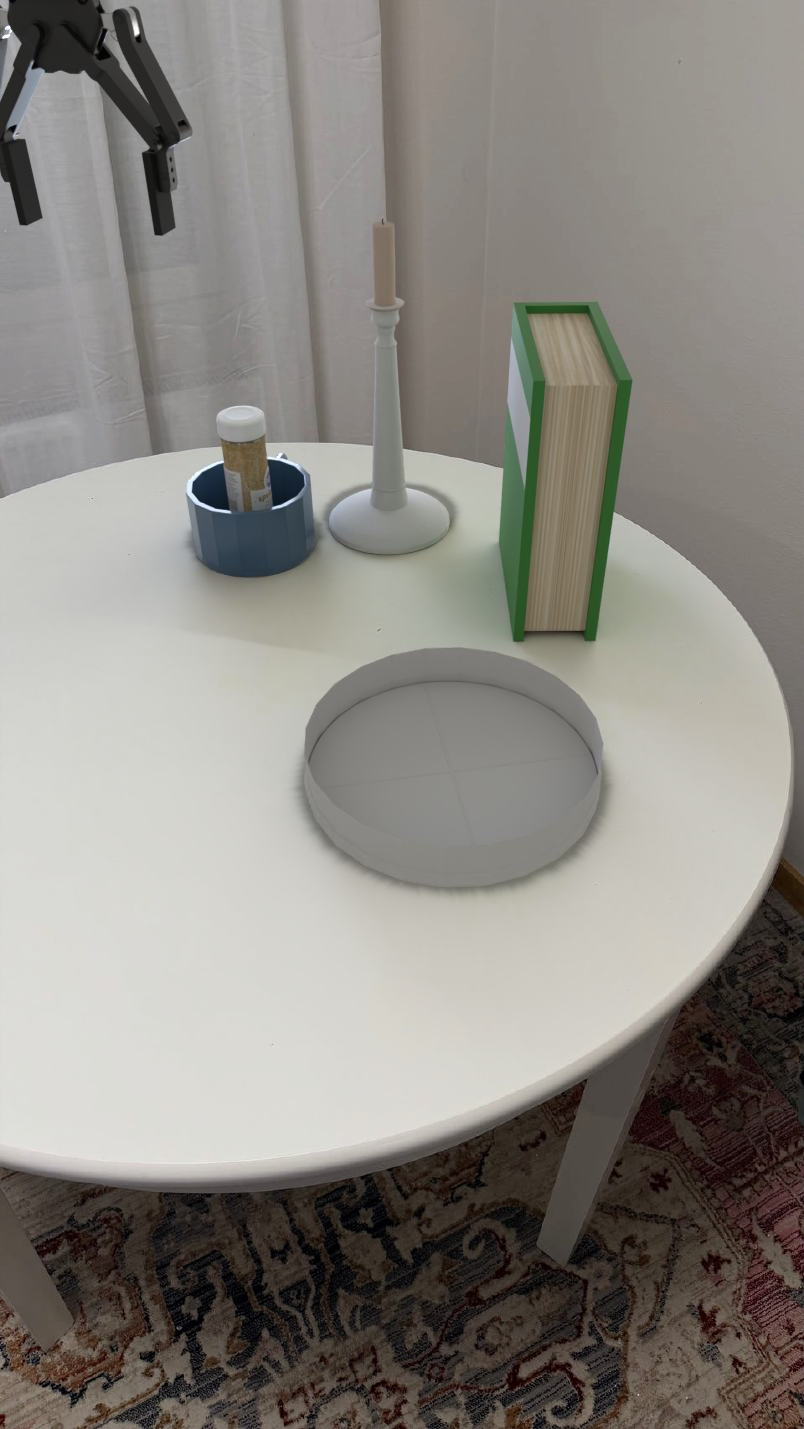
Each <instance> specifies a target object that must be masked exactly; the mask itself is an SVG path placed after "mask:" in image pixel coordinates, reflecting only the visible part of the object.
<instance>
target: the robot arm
mask: <svg viewBox="0 0 804 1429" xmlns="http://www.w3.org/2000/svg"><path fill="white" fill-rule="evenodd" d="M109 32H110V36H111V38H112V39H113V40H114V41H115V42H117V43H118V46H119V48H120V51H121V53H122V55H123V57H124V59H125V61H126V63H127V65H128V67H129V69H130V70H131V73H132V74H133V76H134V78H135V80H136V82H137V83H138V85H139V87H140V90H141V91H142V93H143V95H144V96H143V95H142V93H141V92H140V90H139V89H138V88H137V87H136V85H135V84H134V83H133V81H131V79H130V78H129V76H128V75H127V74H126V73H125V71H124V70H123V69H122V68H121V65H120V64H121V63H120V61H119V60H118V58H117V57H116V55H115V54H114V53H113V52H112V50H111V49H110V48H109V46H108V45H107V44H106V43H105V41H106V38H107V35H108V33H109ZM11 33H13V34H14V36H15V37H16V38H17V40H18V41H19V42H20V46H19V48H18V50H17V53H16V56H15V58H14V61H13V63H12V67H13V70H12V73H11V75H10V77H9V80H8V81H7V84H6V87H5V89H4V91H3V94H2V96H1V97H0V176H1V178H2V180H3V182H4V183H9V186H10V190H11V196H12V198H13V203H14V208H15V212H16V215H17V220H18V224H19V226H26V227H27V226H29V225H31V224H33V223H35V222H38V221H39V220H42V219H43V218H44V216H43V211H42V208H41V203H40V199H39V195H38V191H37V190H38V189H37V186H36V185H37V184H36V181H35V177H34V172H33V167H32V163H31V159H30V154H29V150H28V145H27V141H26V138H15V137H17V136H20V132H18V130H19V127H20V125H21V123H22V121H23V119H24V116H25V114H26V112H27V109H28V107H29V105H30V103H31V100H32V98H33V95H34V94H35V91H36V89H37V87H38V85H39V83H40V81H41V79H42V78H41V77H42V76H43V75H44V74H56V73H59V72H63V73H66V74H68V75H69V74H70V75H80V74H85V73H86V75H87V76H88V77H89V78H90V79H91V80H92V81H94V82H96V83H97V84H98V85H99V86H100V88H101V89H102V90H103V91H104V93H106V95H107V97H108V98H109V99H110V100H111V101H112V102H113V103H114V105H115V106H116V107H117V109H118V110H119V112H121V113H122V115H123V116H124V117H125V118H126V120H127V122H129V123H130V125H131V126H132V127H133V129H134V130H135V131H136V132H137V134H138V135H139V136H140V137H141V138H142V140H143V141H144V142H145V143H146V145H147V146H148V149H147V150H144V151H141V157H142V165H143V171H144V176H145V183H146V184H145V185H146V190H147V196H148V202H149V210H150V216H151V222H152V227H153V228H152V229H153V234H154V236H157V237H158V236H160V237H163V236H165V235H166V234H168V233H170V232H172V231H173V230H174V229H176V226H177V225H176V220H175V219H176V218H175V213H174V205H173V199H172V193H173V192H174V191H176V190H177V189H178V184H179V182H178V176H177V175H178V174H177V166H176V158H175V153H174V151H175V150H174V149H175V146H176V145H178V144H179V143H182V142H184V141H187V140H188V139H190V138H192V137H193V133H194V132H193V127H192V125H191V123H190V121H189V119H188V118H187V116H186V114H185V112H184V110H183V108H182V106H181V104H180V102H179V100H178V98H177V97H176V95H175V93H174V91H173V88H172V87H171V85H170V83H169V81H168V79H167V78H166V75H165V73H164V71H163V70H162V67H161V65H160V63H159V61H158V60H157V57H156V56H155V54H154V52H153V50H152V48H151V46H150V44H149V42H148V40H147V38H146V33H145V29H144V24H143V20H142V15H141V12H140V10H139V9H138V7H137V6H133V5H129V6H125V7H120V8H116V9H115V10H113V11H106V10H105V8H104V7H103V4H102V2H101V0H8V7H7V8H3V6H2V5H1V4H0V94H1V93H2V87H3V80H4V79H3V78H4V71H5V66H6V59H7V51H8V38H9V37H10V36H11ZM14 138H15V139H14Z"/></svg>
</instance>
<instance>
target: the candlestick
mask: <svg viewBox="0 0 804 1429" xmlns="http://www.w3.org/2000/svg"><path fill="white" fill-rule="evenodd" d="M395 228H396V227H395V224H394V222H392V221H384V218H381V221H377V222H373V223H372V224H371V238H372V239H371V240H372V241H371V242H372V274H373V275H372V276H373V297H371V298H369V299H367V300H366V301H365V302H364V303H365V306H366V307H367V308H369V310H370V311H371V316H370V322H371V323H372V325H374V326H375V331H376V340H375V341H374V343H373V344H374V346H375V348H374V385H373V386H374V389H373V390H374V392H373V427H372V430H373V431H372V432H373V433H372V439H373V440H372V472H371V478H372V479H371V488H368V489H364V490H361V491H358V492H355V493H354V494H351V495H349V496H347V497H346V498H344V499H343V500H341V501H340V502H339V503H337V504H336V505H335V506H334V508H333V509H332V510H331V511H330V514H329V519H328V526H329V527H328V528H329V531H330V534H331V535H332V537H334V539H335V540H336V541H338V542H339V543H341V544H342V545H343V546H345V547H348V548H350V549H353V550H355V551H357V552H363V553H367V554H372V555H373V554H374V555H403V554H409V553H413V552H417V551H421V550H424V549H426V548H429V547H431V546H434V545H435V544H436V543H438V542H440V541H441V540H442V539H443V538H444V537H445V536H446V534H447V533H448V531H449V529H450V525H451V524H450V522H451V518H450V513H449V511H448V509H447V507H445V505H444V504H443V503H441V502H440V501H439V500H438V499H436V498H435V497H433V496H431V495H430V494H427V493H426V492H423V491H421V490H418V489H413V488H408V487H406V485H407V481H406V473H405V460H404V459H405V458H404V444H403V429H402V414H401V398H400V384H399V370H398V369H399V368H398V352H397V351H398V350H397V345H398V342H397V341H396V339H395V331H396V325H398V324H399V322H400V315H399V314H400V313H399V311H400V309H401V308H402V307H403V306H404V305H405V300H403V299H402V298H401V297H397V296H396V240H395V238H396V237H395V236H396V234H395V232H396V231H395V230H396V229H395Z"/></svg>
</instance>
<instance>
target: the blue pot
mask: <svg viewBox="0 0 804 1429" xmlns="http://www.w3.org/2000/svg"><path fill="white" fill-rule="evenodd" d="M267 460H268V461H267V462H268V467H269V475H270V483H271V493H272V502H273V507H271V508H267V509H263V510H257V511H241V512H235V511H230V508H229V501H228V494H227V487H226V479H225V472H224V460H220V461H215V462H213V463H211V464H209V465H207V466H205V467H203V468H201V469H199V470H197V471H196V472H195V473H194V474H193V475H192V476H191V477H190V479H188V480H187V482H186V489H185V497H186V503H187V508H188V509H187V510H188V515H189V521H190V528H191V535H192V539H193V540H192V541H193V547H194V549H195V552H196V556H197V558H198V560H199V561H200V562H201V563H202V565H204V566H205V567H206V568H208V569H210V570H211V571H214V572H216V573H218V574H222V575H226V576H229V577H230V576H231V577H237V578H238V577H239V578H257V577H259V578H260V577H266V576H272V575H277V574H280V573H283V572H286V571H288V570H291V569H293V568H296V567H298V566H299V565H301V564H302V563H304V562H305V561H306V560H307V559H308V558H309V557H310V556H311V555H312V553H313V551H314V550H315V546H316V535H315V534H316V532H315V522H314V521H315V520H314V507H313V494H312V493H313V492H312V482H311V474H310V473H309V472H308V471H307V470H306V469H304V467H302V465H301V464H298V463H296V462H293V461H291V460H289V459H288V456H287V455H286V454H285V453H283V452H280V453H278V454H276V456H275V457H274V456H267Z"/></svg>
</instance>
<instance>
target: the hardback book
mask: <svg viewBox="0 0 804 1429" xmlns="http://www.w3.org/2000/svg"><path fill="white" fill-rule="evenodd" d="M512 306H513V307H512V317H511V318H512V319H511V335H510V351H509V352H510V353H509V368H508V370H509V371H508V382H507V384H508V386H507V399H506V400H507V403H506V404H507V405H506V417H505V418H506V419H505V433H504V435H505V437H504V449H503V467H502V483H501V485H502V486H501V497H500V498H501V500H500V516H499V532H498V545H499V551H500V558H501V565H502V572H503V578H504V585H505V593H506V600H507V607H508V615H509V622H510V628H511V633H512V634H511V635H512V641H513V642H524V641H525V632H568V631H570V632H573V631H575V632H576V631H577V632H578V631H579V632H580V631H581V632H582V633H583V637H584V641H585V642H595V641H596V640H597V634H598V626H599V619H600V613H601V607H602V606H601V604H602V598H603V590H604V585H605V576H606V569H607V562H608V556H609V550H610V549H609V548H610V542H611V536H612V535H611V534H612V528H613V521H614V514H615V506H616V499H617V493H618V485H619V478H620V471H621V465H622V464H621V463H622V457H623V450H624V443H625V436H626V428H627V421H628V415H629V413H628V412H629V408H630V400H631V394H632V386H633V378H632V376H631V373H630V371H629V369H628V367H627V363H625V360H624V357H623V355H622V354H621V350H620V349H619V347H618V344H617V341H616V340H615V338H614V335H613V334H612V331H611V328H610V327H609V324H608V322H607V320H606V318H605V315H604V313H603V310H602V308H601V307H600V304H599V302H598V301H537V302H536V301H530V302H529V301H527V302H525V301H524V302H521V301H520V302H518V301H517V302H513V303H512Z"/></svg>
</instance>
